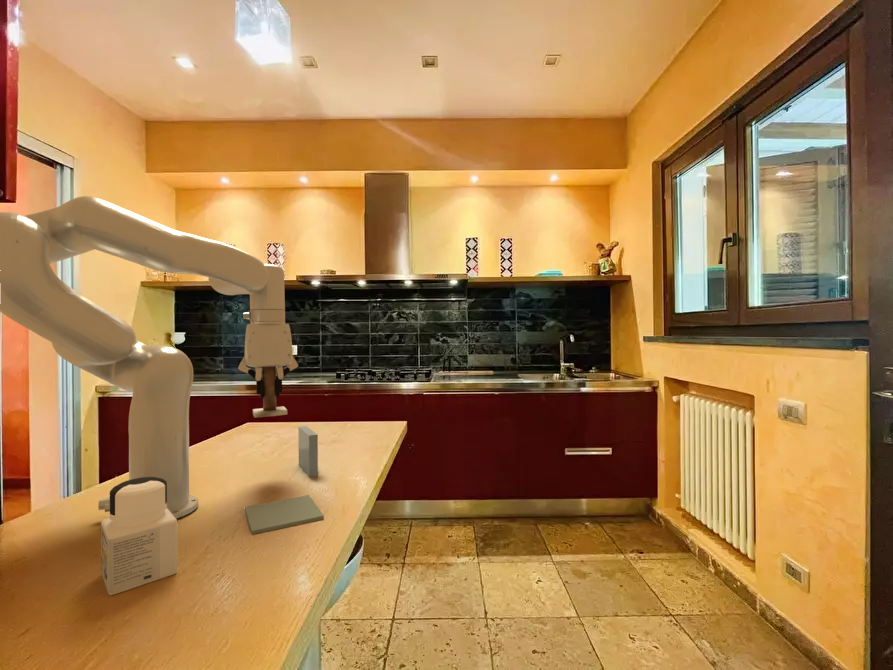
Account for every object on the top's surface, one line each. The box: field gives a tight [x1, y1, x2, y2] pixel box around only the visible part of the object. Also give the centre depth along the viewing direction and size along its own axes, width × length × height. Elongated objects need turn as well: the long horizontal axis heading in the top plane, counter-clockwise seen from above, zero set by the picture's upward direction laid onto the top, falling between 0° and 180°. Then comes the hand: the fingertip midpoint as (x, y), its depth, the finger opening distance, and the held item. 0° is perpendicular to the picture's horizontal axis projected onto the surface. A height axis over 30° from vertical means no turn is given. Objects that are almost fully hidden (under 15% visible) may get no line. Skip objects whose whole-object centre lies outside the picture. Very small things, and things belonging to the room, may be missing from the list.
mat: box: [244, 494, 325, 535], centre depth 80 cm, size 12×12×1 cm
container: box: [100, 477, 178, 596], centre depth 60 cm, size 8×8×13 cm
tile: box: [298, 425, 319, 479], centre depth 107 cm, size 2×12×10 cm, turn 30°
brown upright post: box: [252, 366, 288, 419], centre depth 101 cm, size 7×6×12 cm
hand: (269, 395), depth 101 cm, fingers closed on brown upright post, 2 cm apart
